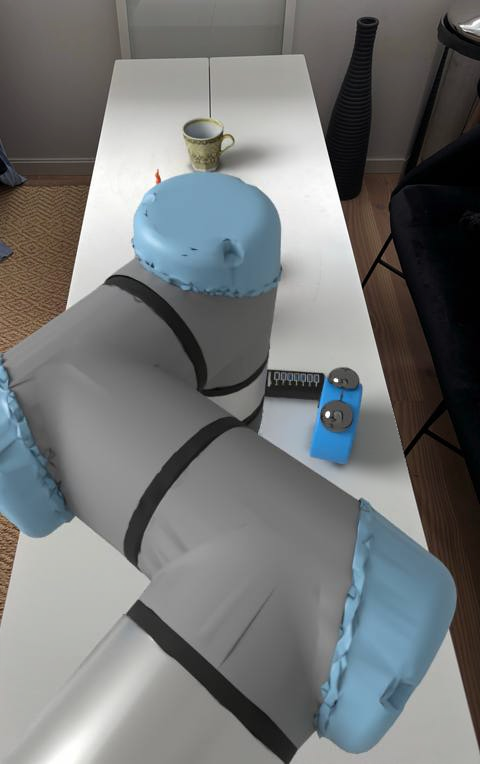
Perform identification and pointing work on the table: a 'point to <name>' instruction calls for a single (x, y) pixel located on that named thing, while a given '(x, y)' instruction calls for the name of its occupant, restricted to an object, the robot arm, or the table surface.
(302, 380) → the multiport hub
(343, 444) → the alarm clock
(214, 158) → the ceramic cup
